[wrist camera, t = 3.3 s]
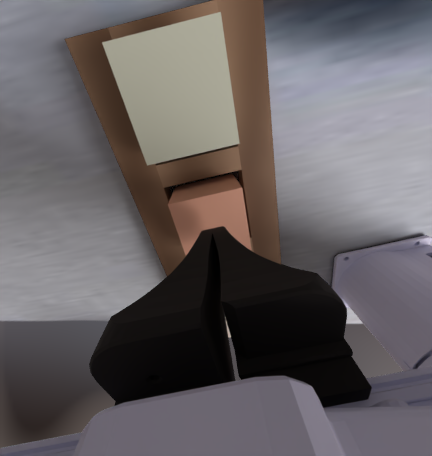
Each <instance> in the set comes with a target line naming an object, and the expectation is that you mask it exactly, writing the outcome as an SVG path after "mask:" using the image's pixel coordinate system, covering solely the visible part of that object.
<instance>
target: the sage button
mask: <svg viewBox="0 0 432 456" xmlns="http://www.w3.org/2000/svg"><path fill="white" fill-rule="evenodd" d="M102 44H103V47H104V49H105V52H106V55H107V58H108V60H109V63H110V66H111V68H112V71H113V74H114V77H115V79H116V82H117V85H118V88H119V90H120V93H121V96H122V98H123V101H124V104H125V107H126V109H127V112H128V115H129V118H130V120H131V123H132V126H133V128H134V131H135V134H136V137H137V139H138V142H139V145H140V148H141V150H142V153H143V156H144V158H145V161H146V164H147V165H152V164H156V163H160V162H164V161H169V160H173V159H177V158H181V157H185V156H190V155H194V154H198V153H202V152H207V151H211V150H215V149H219V148H223V147H228V146H232V145H236V144H240V143H239V136H238V129H237V122H236V115H235V108H234V101H233V94H232V87H231V80H230V73H229V66H228V59H227V52H226V45H225V38H224V31H223V24H222V17H221V12H218V13H214V14H210V15H206V16H203V17H199V18H195V19H191V20H187V21H183V22H179V23H176V24H172V25H168V26H164V27H160V28H156V29H152V30H148V31H145V32H141V33H137V34H133V35H129V36H125V37H121V38H118V39H114V40H110V41H106V42H102Z"/></svg>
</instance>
